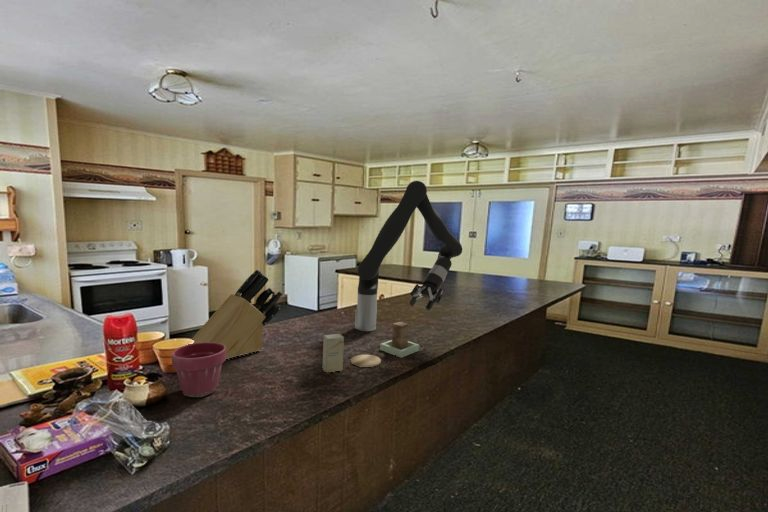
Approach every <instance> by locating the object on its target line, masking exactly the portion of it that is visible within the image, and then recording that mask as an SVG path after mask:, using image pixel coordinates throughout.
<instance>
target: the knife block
mask: <svg viewBox="0 0 768 512" xmlns="http://www.w3.org/2000/svg"><path fill="white" fill-rule="evenodd" d="M268 281H269V278H268V277H267V276H266V275H265V274H264V273H262V271H261V270H260V269H259V268H258V269H256V270H255V271H253V273H251V274H250V275H249V276H248V278H247V279H246V280H245V281H244V282H243V283H242V284H241V286H240V287H239V288H238V289H237V290H236V291H235V294H233V293H231V294H230V295H229V296H228V297H227V298H226V299H225V300H224V301H223V303H222V304H221V305H219V307H218V308H217V310H216V311H215V312H213V314H212V315H211V316H210V318H209V319H207V320H206V322H205V323H204V324H203V325H202V327H201V328H200V329H199V330H198V331H197V332H196V334H194V336H192V338H191V339H192V340H195V342H194V343H201V342H215V343H220V344H223V345H224V346H225V347H226V358H228V357H232V356H235V355H240V354H245V353H249V352H253V351H257V350H263V329H264V328H263V327H265V326H266V325H267V324H268V323H269V322H270V321H271V320H272V319H273V318H274V317H275V316H276V315H277V314H278V312H279V311H280V310H281V311H282V305H279V304H277V302H278V301H279V299H280V298H281V297H282V296H283V295H284V293H283V292H282V291H278V292H277V293H275V291H273V289H272V288H271V287H269V288H267V289H264V290H263V288H264V287H265V286H266V284H267V283H268ZM261 290H263V291H262V292H261ZM259 292H260V294H259ZM258 294H259V295H258ZM257 295H258V296H257ZM256 296H257V297H256ZM270 296H271V298H270ZM254 297H256V300H255V303H254V304H252V300H253V298H254ZM269 298H270V299H269ZM268 299H269V300H268Z"/></svg>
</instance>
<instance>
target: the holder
mask: <svg viewBox="0 0 768 512" xmlns="http://www.w3.org/2000/svg"><path fill="white" fill-rule="evenodd" d="M379 345H380V346H379V350H380V351H383V352H385V353H387V354H390V355H393V356H395V355H396V356H395V357H398V358H401V359H402V358H404V357H406V356H409V355H411V354H414V353H416V352H420V344H418V343H415V342H413V341H410V340H408V347H407V348H405V349H402V350H400V349H397V348H395V347H392V339H391V340H388V341H384V342H382V343H380V344H379Z"/></svg>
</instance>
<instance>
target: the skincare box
mask: <svg viewBox="0 0 768 512" xmlns="http://www.w3.org/2000/svg"><path fill="white" fill-rule="evenodd" d="M344 342H345V336H343V335H342V334H341V333H334V334H333V333H332V334H324V335H323V342H322V343H323V344H322V367H321V368H323V369H324V370H325V371H324V370H323V369H322V370H323V371H324V373H325V372H333V373H336V372H335V371H340V372H342V371H341V370H343V369H344V352H345V351H344V347H345V346H344V345H345V344H344Z"/></svg>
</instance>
